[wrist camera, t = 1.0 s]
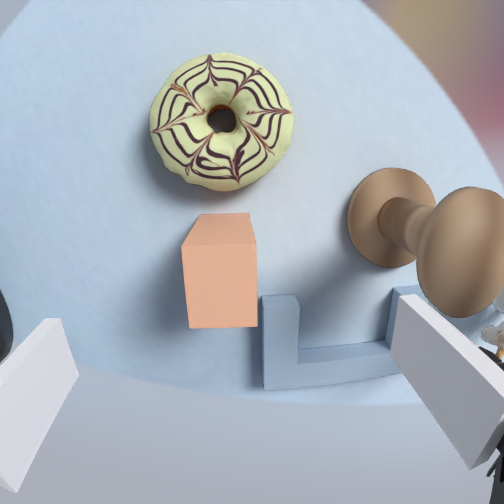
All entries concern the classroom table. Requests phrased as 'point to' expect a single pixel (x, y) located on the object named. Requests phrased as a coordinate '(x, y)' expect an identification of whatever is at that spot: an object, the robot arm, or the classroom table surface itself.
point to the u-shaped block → (320, 349)
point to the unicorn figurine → (496, 328)
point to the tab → (221, 272)
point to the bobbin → (432, 237)
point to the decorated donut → (221, 144)
